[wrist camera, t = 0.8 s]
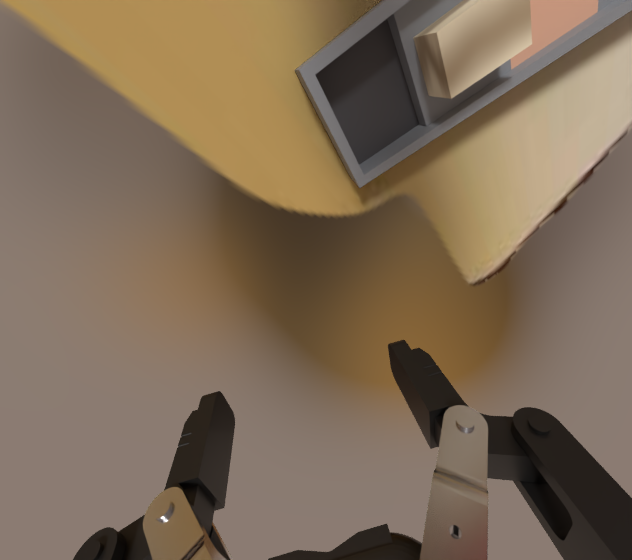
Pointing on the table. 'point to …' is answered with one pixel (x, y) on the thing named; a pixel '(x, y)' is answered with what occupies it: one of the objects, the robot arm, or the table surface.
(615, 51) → the table surface
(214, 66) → the table surface
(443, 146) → the table surface
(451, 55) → the birch block
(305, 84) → the channel
